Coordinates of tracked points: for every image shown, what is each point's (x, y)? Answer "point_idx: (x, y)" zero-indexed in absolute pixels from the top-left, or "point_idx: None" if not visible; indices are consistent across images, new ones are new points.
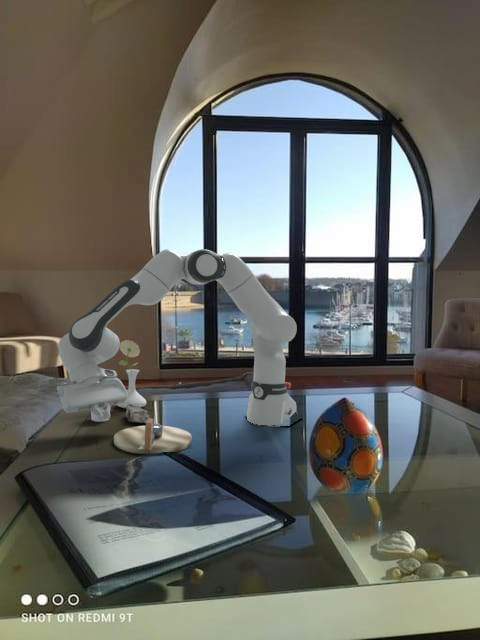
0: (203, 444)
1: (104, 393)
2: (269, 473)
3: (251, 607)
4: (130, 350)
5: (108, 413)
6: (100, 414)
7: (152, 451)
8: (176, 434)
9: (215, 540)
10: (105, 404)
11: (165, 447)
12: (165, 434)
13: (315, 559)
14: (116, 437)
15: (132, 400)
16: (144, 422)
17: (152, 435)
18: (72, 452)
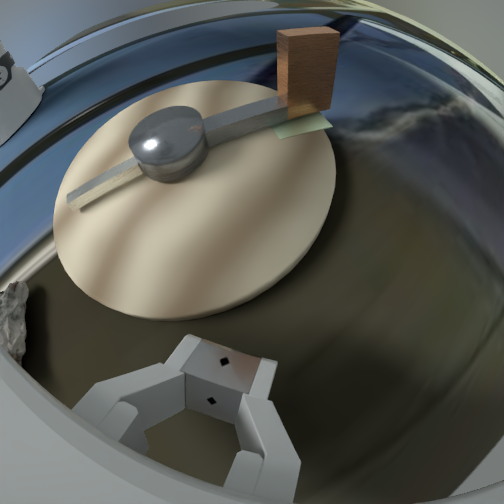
0: (159, 89)
1: (5, 484)
2: (256, 22)
3: (444, 40)
4: None
5: (191, 352)
6: (268, 392)
7: None
8: (134, 126)
9: (424, 43)
10: (126, 421)
11: (267, 90)
12: None
13: (384, 17)
14: (275, 260)
15: None
16: (25, 301)
17: (278, 85)
18: (458, 330)
